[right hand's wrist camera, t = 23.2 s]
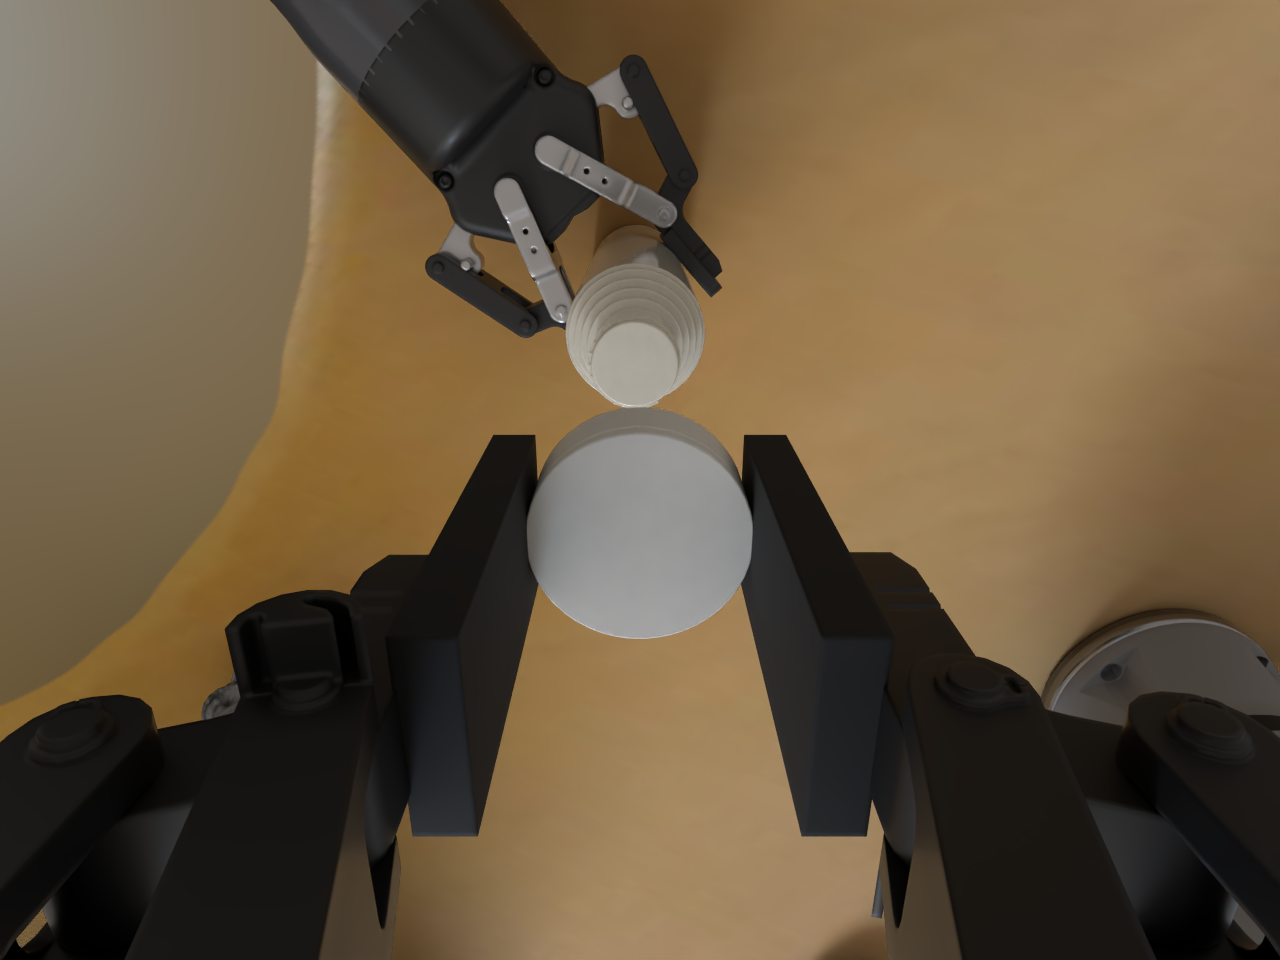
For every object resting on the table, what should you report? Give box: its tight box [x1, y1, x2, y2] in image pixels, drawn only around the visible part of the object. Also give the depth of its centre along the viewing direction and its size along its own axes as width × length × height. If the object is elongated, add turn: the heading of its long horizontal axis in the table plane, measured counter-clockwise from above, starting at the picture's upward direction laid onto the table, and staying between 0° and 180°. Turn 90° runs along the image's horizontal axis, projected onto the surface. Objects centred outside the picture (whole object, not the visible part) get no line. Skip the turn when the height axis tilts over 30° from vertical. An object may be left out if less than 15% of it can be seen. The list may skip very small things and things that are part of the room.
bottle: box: [566, 225, 705, 408], centre depth 34 cm, size 5×5×22 cm
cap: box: [527, 407, 753, 639], centre depth 14 cm, size 4×4×2 cm
